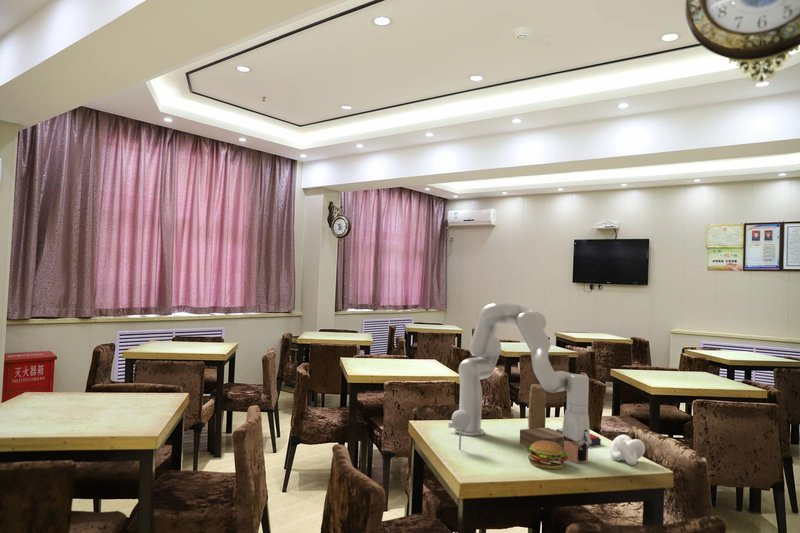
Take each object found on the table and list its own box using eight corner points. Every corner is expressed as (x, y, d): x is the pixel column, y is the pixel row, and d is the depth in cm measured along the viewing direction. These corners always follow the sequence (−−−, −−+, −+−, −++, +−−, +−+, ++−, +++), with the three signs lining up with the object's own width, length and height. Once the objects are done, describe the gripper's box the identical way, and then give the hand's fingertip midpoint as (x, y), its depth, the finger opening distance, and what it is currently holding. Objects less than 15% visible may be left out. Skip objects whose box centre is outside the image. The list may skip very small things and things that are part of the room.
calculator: (581, 438, 208) (555, 427, 221) (580, 449, 208) (554, 437, 221) (601, 437, 212) (575, 426, 226) (600, 447, 212) (574, 436, 226)
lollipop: (458, 446, 200) (459, 406, 201) (473, 450, 195) (474, 410, 196) (446, 449, 195) (448, 409, 196) (461, 453, 190) (462, 412, 191)
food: (576, 469, 179) (577, 446, 179) (540, 471, 175) (541, 447, 175) (553, 457, 192) (554, 435, 192) (520, 459, 188) (520, 436, 188)
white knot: (600, 458, 193) (601, 434, 194) (622, 455, 199) (622, 431, 200) (627, 467, 184) (627, 442, 184) (648, 464, 189) (649, 439, 190)
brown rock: (545, 433, 227) (546, 387, 229) (527, 431, 229) (529, 385, 231) (544, 427, 238) (546, 383, 239) (528, 425, 240) (529, 382, 241)
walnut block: (542, 455, 195) (543, 438, 195) (519, 444, 208) (520, 429, 208) (571, 452, 201) (571, 436, 201) (546, 442, 214) (547, 427, 214)
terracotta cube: (574, 462, 186) (574, 445, 187) (563, 457, 192) (564, 441, 192) (587, 461, 188) (588, 445, 189) (577, 456, 194) (577, 440, 194)
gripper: (554, 403, 198) (552, 451, 197) (584, 413, 182) (583, 466, 181) (570, 403, 201) (569, 450, 199) (601, 413, 184) (600, 464, 183)
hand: (575, 457), depth 190 cm, fingers closed on terracotta cube, 6 cm apart
